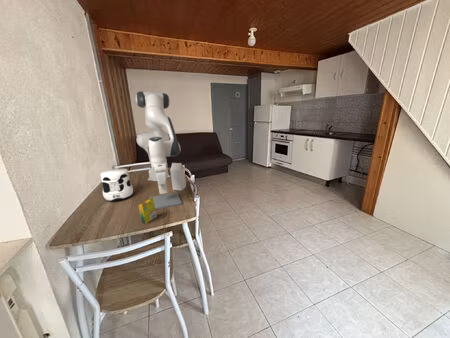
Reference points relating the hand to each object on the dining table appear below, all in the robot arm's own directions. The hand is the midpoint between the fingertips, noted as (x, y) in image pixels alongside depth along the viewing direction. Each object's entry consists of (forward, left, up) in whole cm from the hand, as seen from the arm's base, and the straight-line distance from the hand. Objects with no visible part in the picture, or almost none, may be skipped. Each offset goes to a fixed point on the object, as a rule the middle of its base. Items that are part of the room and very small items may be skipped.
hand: (162, 187), depth 113 cm
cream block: (0, 0, -3) cm, 3 cm away
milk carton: (-18, +12, -10) cm, 24 cm away
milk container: (-21, -27, -10) cm, 36 cm away
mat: (0, 0, -9) cm, 9 cm away
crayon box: (+19, -9, -10) cm, 23 cm away
